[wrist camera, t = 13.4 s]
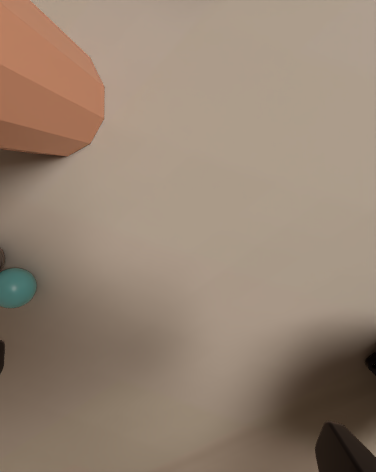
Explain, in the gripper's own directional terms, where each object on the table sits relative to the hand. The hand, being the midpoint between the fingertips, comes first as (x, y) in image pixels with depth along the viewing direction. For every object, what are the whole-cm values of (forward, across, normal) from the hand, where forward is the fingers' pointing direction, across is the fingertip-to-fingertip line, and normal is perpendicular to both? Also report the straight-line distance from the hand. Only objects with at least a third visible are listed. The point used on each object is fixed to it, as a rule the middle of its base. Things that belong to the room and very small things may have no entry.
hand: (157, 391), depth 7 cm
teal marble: (+12, +13, +5) cm, 18 cm away
